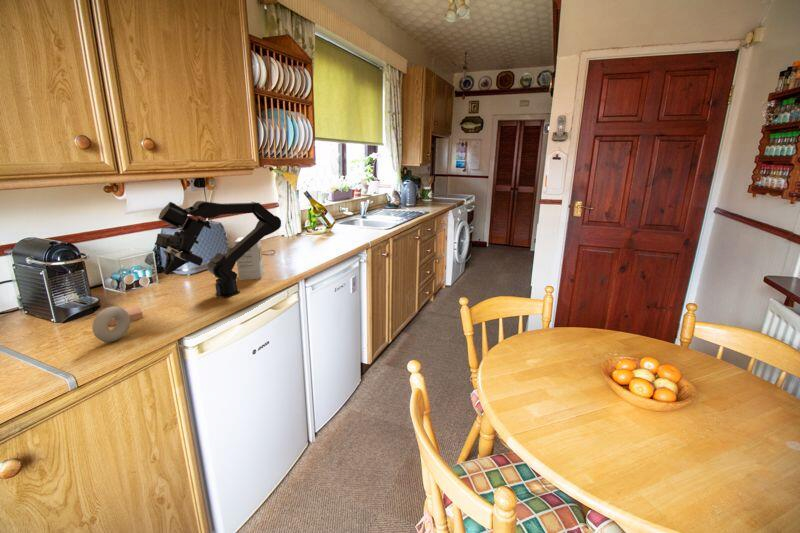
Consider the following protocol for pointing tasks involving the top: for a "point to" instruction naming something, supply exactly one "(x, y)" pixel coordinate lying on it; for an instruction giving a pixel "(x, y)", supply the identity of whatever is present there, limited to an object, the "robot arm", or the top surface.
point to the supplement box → (250, 262)
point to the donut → (104, 318)
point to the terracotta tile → (130, 314)
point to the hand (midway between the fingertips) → (165, 274)
